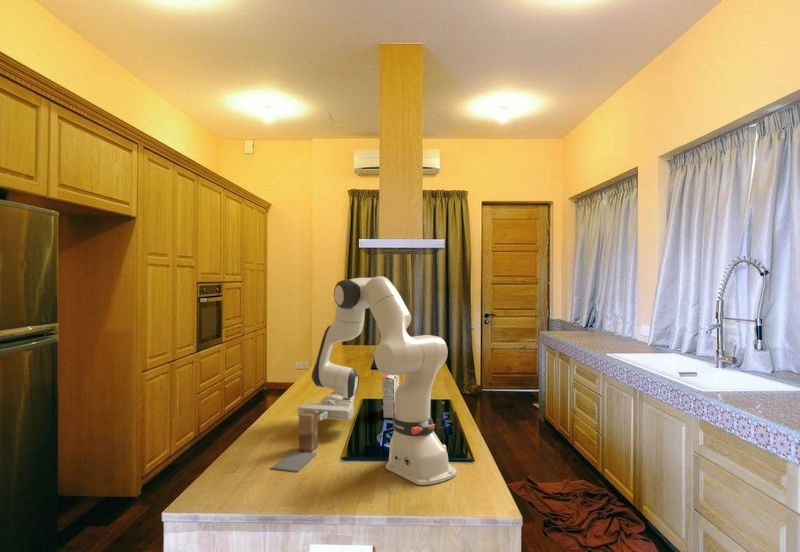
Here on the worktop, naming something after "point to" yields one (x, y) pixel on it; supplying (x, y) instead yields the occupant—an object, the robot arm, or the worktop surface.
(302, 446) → the block
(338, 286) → the robot arm
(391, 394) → the candy bar box
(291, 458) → the mat
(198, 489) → the worktop surface
